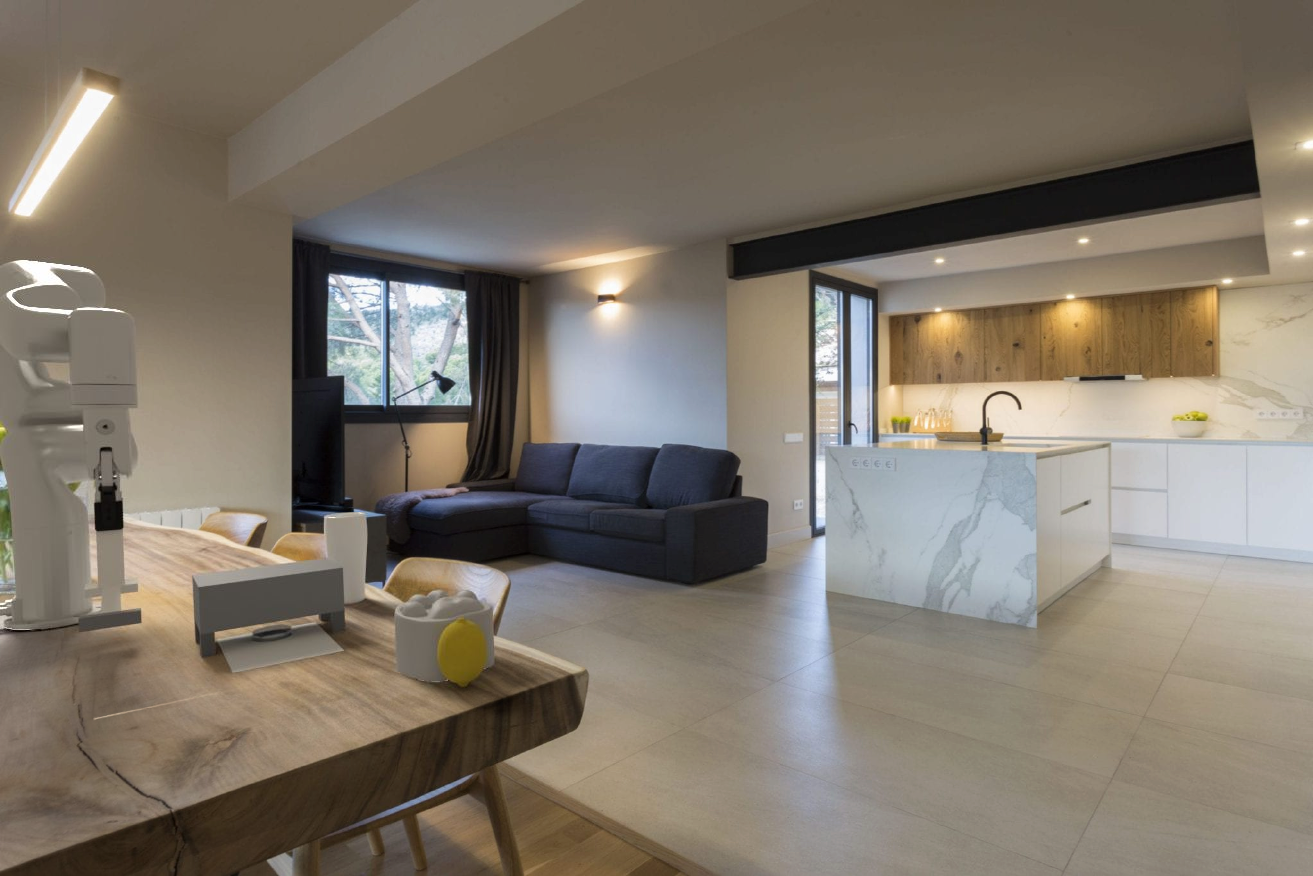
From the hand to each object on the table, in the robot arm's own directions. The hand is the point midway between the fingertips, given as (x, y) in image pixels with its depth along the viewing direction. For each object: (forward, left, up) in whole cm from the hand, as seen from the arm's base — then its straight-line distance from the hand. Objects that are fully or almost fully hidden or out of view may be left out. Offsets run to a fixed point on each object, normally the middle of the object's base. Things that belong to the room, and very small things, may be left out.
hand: (109, 527), depth 103 cm
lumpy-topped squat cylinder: (+33, -39, -17) cm, 54 cm away
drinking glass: (+32, +3, -17) cm, 37 cm away
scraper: (0, -9, -9) cm, 13 cm away
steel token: (+18, -12, -17) cm, 27 cm away
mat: (+18, -17, -17) cm, 30 cm away
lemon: (+32, -49, -17) cm, 61 cm away
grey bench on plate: (+18, -11, -17) cm, 27 cm away
